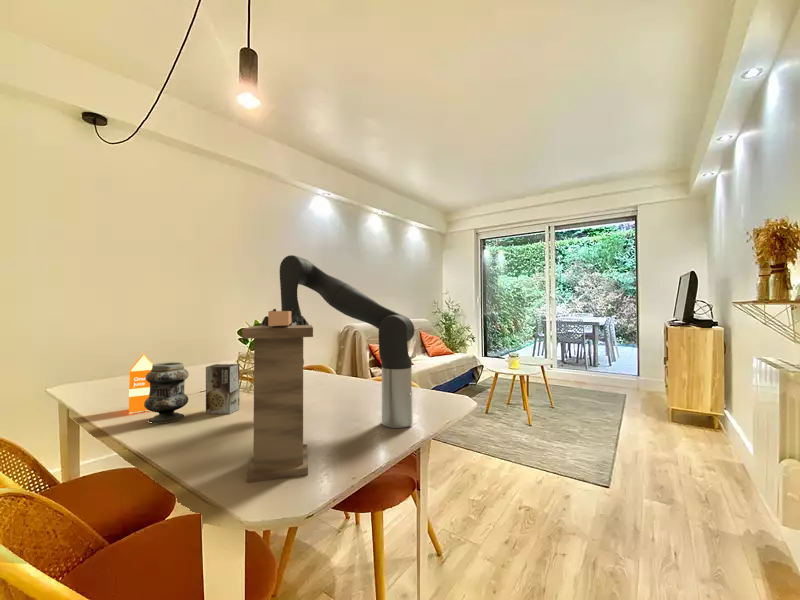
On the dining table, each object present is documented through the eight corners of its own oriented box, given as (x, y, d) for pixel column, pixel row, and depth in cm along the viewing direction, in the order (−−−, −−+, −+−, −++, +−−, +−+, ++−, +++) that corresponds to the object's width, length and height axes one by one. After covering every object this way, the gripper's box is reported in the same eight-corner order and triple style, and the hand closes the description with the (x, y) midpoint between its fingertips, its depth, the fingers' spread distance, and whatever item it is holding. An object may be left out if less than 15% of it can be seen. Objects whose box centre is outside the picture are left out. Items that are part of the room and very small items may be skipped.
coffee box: (240, 409, 127) (240, 363, 127) (229, 414, 120) (230, 366, 121) (216, 408, 128) (216, 363, 128) (204, 413, 121) (205, 366, 122)
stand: (252, 452, 87) (253, 326, 88) (311, 446, 91) (311, 325, 92) (241, 483, 72) (242, 328, 73) (312, 474, 75) (313, 327, 76)
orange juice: (128, 414, 121) (129, 355, 121) (128, 409, 128) (129, 353, 129) (156, 410, 125) (157, 353, 126) (155, 405, 132) (156, 351, 133)
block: (276, 322, 99) (277, 311, 99) (292, 322, 100) (292, 311, 100) (268, 325, 74) (268, 311, 74) (288, 325, 75) (288, 311, 75)
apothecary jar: (196, 415, 119) (197, 361, 119) (161, 426, 108) (162, 367, 108) (170, 412, 123) (171, 360, 124) (134, 422, 112) (135, 365, 112)
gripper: (310, 350, 108) (311, 323, 94) (260, 352, 104) (253, 324, 90) (309, 328, 112) (310, 299, 98) (261, 329, 108) (255, 299, 94)
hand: (283, 311), depth 94 cm, fingers closed on block, 4 cm apart
